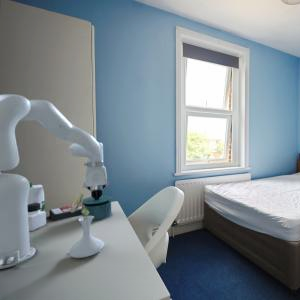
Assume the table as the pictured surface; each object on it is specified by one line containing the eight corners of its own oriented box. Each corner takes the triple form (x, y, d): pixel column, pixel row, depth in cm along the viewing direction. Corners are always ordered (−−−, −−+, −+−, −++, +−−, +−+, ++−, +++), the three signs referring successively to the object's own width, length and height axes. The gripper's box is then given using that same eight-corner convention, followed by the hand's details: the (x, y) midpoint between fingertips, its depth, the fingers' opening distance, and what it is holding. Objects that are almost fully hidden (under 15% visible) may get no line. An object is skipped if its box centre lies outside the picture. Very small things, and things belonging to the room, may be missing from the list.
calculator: (86, 207, 120) (53, 213, 109) (86, 214, 121) (53, 221, 109) (80, 203, 127) (49, 208, 116) (80, 210, 128) (49, 216, 116)
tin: (112, 218, 114) (111, 203, 113) (82, 224, 106) (81, 208, 106) (110, 211, 125) (110, 197, 125) (83, 215, 118) (82, 201, 117)
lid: (113, 202, 113) (112, 191, 113) (80, 207, 105) (79, 195, 105) (111, 195, 125) (110, 185, 125) (81, 199, 118) (81, 188, 117)
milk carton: (22, 219, 112) (19, 183, 110) (44, 215, 118) (42, 180, 117) (23, 224, 106) (20, 185, 104) (46, 219, 112) (44, 183, 111)
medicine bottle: (46, 224, 105) (45, 201, 105) (32, 231, 98) (31, 206, 98) (34, 224, 106) (32, 201, 105) (18, 230, 99) (17, 205, 98)
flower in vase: (74, 247, 84) (72, 187, 82) (106, 242, 88) (104, 185, 86) (62, 266, 72) (59, 196, 70) (100, 260, 76) (97, 193, 74)
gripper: (77, 166, 106) (78, 201, 108) (112, 164, 115) (113, 196, 116) (78, 164, 113) (79, 198, 114) (111, 162, 121) (112, 193, 123)
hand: (96, 197), depth 115 cm, fingers closed on lid, 2 cm apart
